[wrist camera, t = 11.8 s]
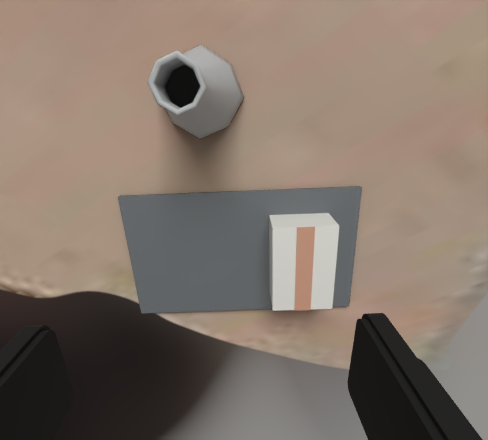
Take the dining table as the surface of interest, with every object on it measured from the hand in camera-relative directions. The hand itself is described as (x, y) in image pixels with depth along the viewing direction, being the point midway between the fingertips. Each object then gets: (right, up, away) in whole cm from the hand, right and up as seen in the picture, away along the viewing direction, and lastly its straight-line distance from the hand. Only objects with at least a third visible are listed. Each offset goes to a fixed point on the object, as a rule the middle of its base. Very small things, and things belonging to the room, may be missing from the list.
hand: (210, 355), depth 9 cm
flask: (-3, +16, +17) cm, 23 cm away
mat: (+1, +1, +22) cm, 22 cm away
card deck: (+7, +1, +22) cm, 23 cm away
